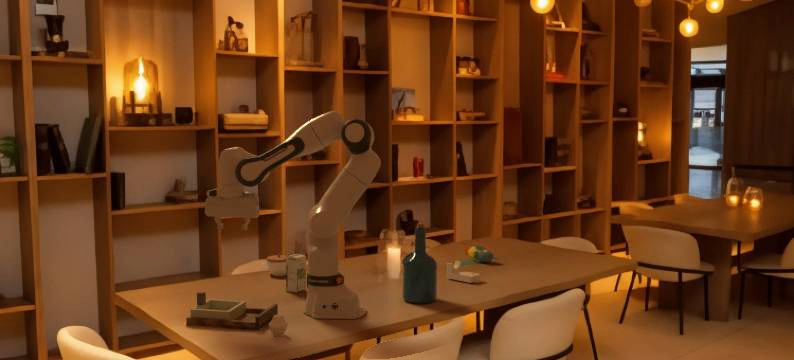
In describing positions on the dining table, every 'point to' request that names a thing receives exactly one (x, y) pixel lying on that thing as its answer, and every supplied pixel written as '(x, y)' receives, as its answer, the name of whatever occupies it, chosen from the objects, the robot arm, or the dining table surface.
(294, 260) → the syrup box
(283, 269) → the lidded jar
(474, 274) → the bracket
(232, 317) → the drawer
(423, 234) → the wine bottle
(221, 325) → the bay
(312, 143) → the robot arm
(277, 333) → the muffin
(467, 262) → the green parrot figure
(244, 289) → the dining table surface
